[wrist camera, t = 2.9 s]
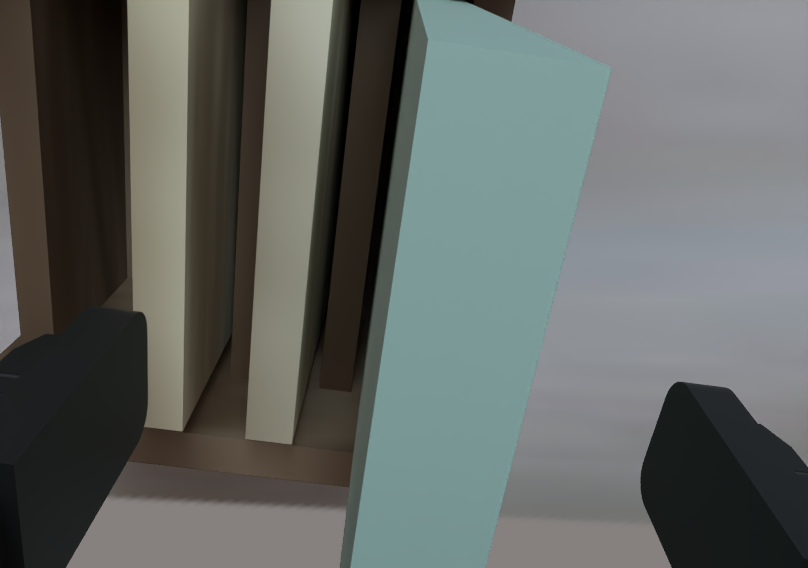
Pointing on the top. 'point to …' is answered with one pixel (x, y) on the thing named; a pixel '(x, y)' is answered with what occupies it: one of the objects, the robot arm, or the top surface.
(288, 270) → the board
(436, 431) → the tall sheet
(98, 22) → the rack
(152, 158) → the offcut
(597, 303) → the top surface
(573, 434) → the top surface
